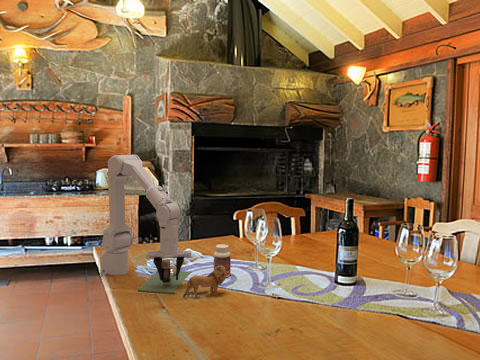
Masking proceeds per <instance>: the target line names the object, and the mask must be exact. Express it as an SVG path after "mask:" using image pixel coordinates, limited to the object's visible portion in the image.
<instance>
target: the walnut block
mask: <svg viewBox="0 0 480 360" xmlns="http://www.w3.org/2000/svg"><path fill="white" fill-rule="evenodd" d="M170 266H171V259H168V258H162V268H163V267H170Z"/></svg>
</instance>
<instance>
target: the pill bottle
mask: <svg viewBox="0 0 480 360" xmlns="http://www.w3.org/2000/svg"><path fill="white" fill-rule="evenodd" d="M229 248H230V247H229V245H228V244H217V245H215V252H214V253H213V271H214V270H215V267H217V266H224V267H225V270H226V276H225V279H226V278H228V277H230V276H231V265H232V264H231V260H232V259H231V257H232V254H231V252H230V251H229Z"/></svg>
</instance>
